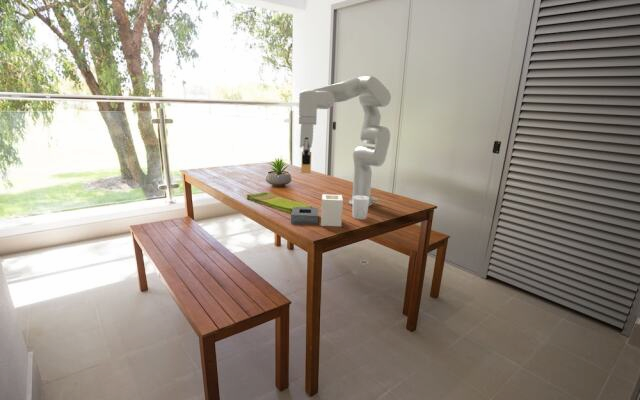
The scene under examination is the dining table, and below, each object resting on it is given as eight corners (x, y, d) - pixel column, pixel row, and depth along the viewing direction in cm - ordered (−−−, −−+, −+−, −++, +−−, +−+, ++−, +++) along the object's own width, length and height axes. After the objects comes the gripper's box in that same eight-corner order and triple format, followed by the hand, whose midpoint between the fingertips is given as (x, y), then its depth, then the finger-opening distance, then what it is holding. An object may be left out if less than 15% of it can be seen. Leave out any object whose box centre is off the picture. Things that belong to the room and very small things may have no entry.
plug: (310, 171, 148) (311, 151, 145) (310, 173, 144) (311, 153, 141) (301, 171, 148) (302, 151, 145) (301, 173, 144) (301, 152, 141)
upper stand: (340, 219, 154) (341, 195, 150) (341, 226, 145) (342, 200, 142) (321, 218, 154) (322, 194, 150) (321, 225, 145) (322, 199, 142)
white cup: (366, 214, 162) (367, 195, 159) (369, 220, 154) (370, 200, 151) (350, 214, 161) (351, 195, 159) (352, 219, 154) (353, 199, 151)
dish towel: (267, 195, 192) (267, 189, 191) (312, 208, 170) (313, 202, 169) (245, 200, 180) (245, 194, 179) (292, 215, 158) (292, 209, 158)
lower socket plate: (318, 215, 158) (318, 207, 157) (317, 224, 146) (318, 215, 145) (293, 214, 158) (293, 206, 157) (290, 223, 146) (291, 214, 145)
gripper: (300, 119, 148) (299, 159, 153) (297, 121, 132) (296, 166, 137) (316, 120, 148) (315, 160, 153) (316, 122, 132) (314, 167, 137)
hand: (306, 162), depth 145 cm, fingers closed on plug, 4 cm apart
